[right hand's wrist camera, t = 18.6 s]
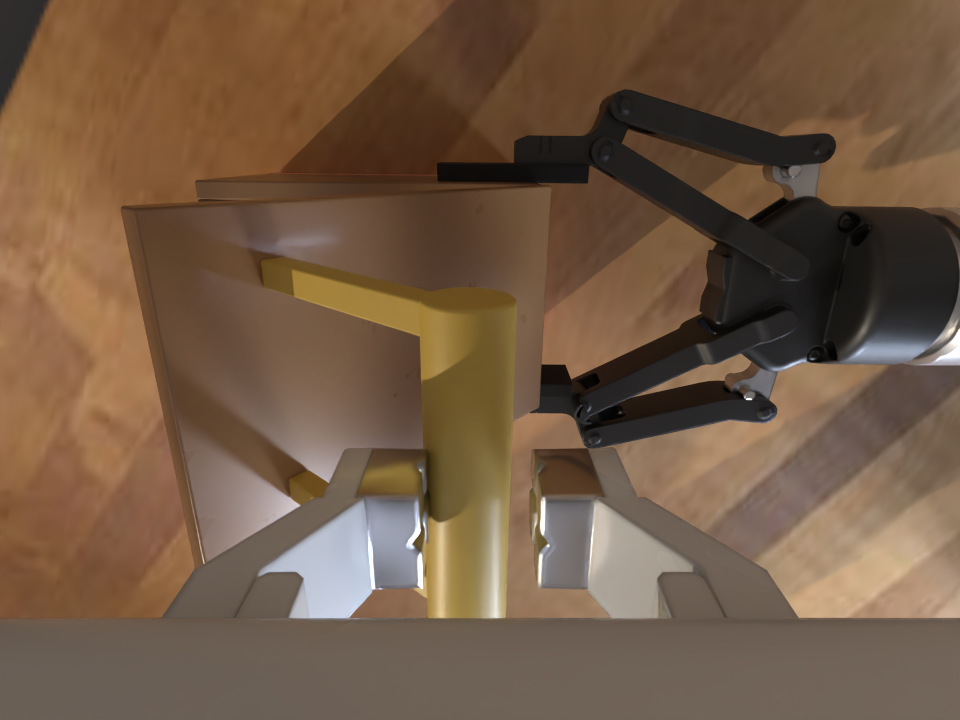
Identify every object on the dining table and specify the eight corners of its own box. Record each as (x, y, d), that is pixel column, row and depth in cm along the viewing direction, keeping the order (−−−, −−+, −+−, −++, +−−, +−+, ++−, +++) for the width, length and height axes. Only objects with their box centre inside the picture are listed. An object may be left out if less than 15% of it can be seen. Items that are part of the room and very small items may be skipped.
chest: (295, 333, 34) (228, 397, 25) (277, 172, 31) (193, 180, 22) (517, 335, 35) (531, 400, 25) (523, 175, 31) (541, 184, 22)
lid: (194, 568, 15) (391, 787, 10) (118, 205, 12) (356, 252, 7) (524, 402, 25) (704, 466, 20) (534, 184, 22) (752, 196, 17)
